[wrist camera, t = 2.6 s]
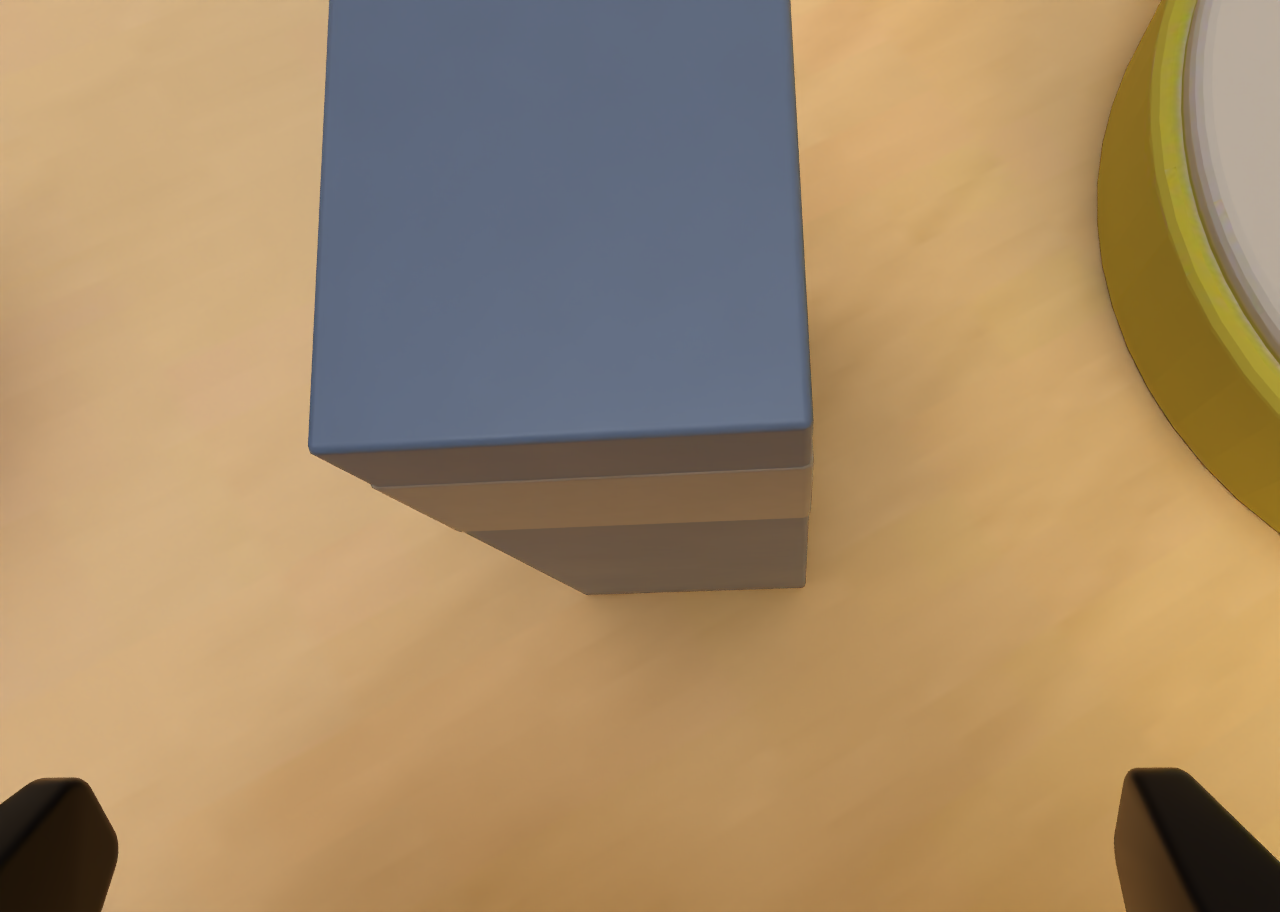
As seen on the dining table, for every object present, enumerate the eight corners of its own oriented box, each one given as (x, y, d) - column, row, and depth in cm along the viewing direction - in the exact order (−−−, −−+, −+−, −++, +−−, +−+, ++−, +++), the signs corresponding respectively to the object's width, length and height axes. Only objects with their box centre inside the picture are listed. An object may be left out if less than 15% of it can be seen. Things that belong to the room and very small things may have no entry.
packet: (806, 589, 22) (816, 430, 9) (582, 596, 22) (301, 457, 10) (791, 295, 23) (781, -195, 10) (580, 310, 24) (331, -139, 11)
